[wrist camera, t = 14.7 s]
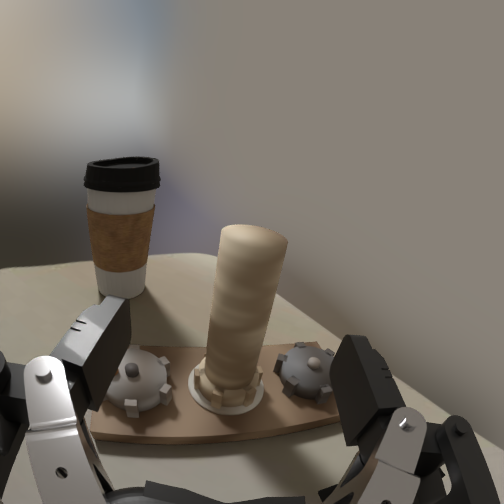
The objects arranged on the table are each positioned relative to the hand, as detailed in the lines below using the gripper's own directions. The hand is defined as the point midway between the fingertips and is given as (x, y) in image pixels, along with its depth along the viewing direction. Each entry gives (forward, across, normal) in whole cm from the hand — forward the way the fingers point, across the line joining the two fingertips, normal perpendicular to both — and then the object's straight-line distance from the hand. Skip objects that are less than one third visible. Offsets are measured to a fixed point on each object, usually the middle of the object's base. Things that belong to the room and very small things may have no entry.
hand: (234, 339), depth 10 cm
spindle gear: (+6, -1, +10) cm, 12 cm away
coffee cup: (+20, +13, +12) cm, 27 cm away
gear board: (+6, -1, +12) cm, 13 cm away
